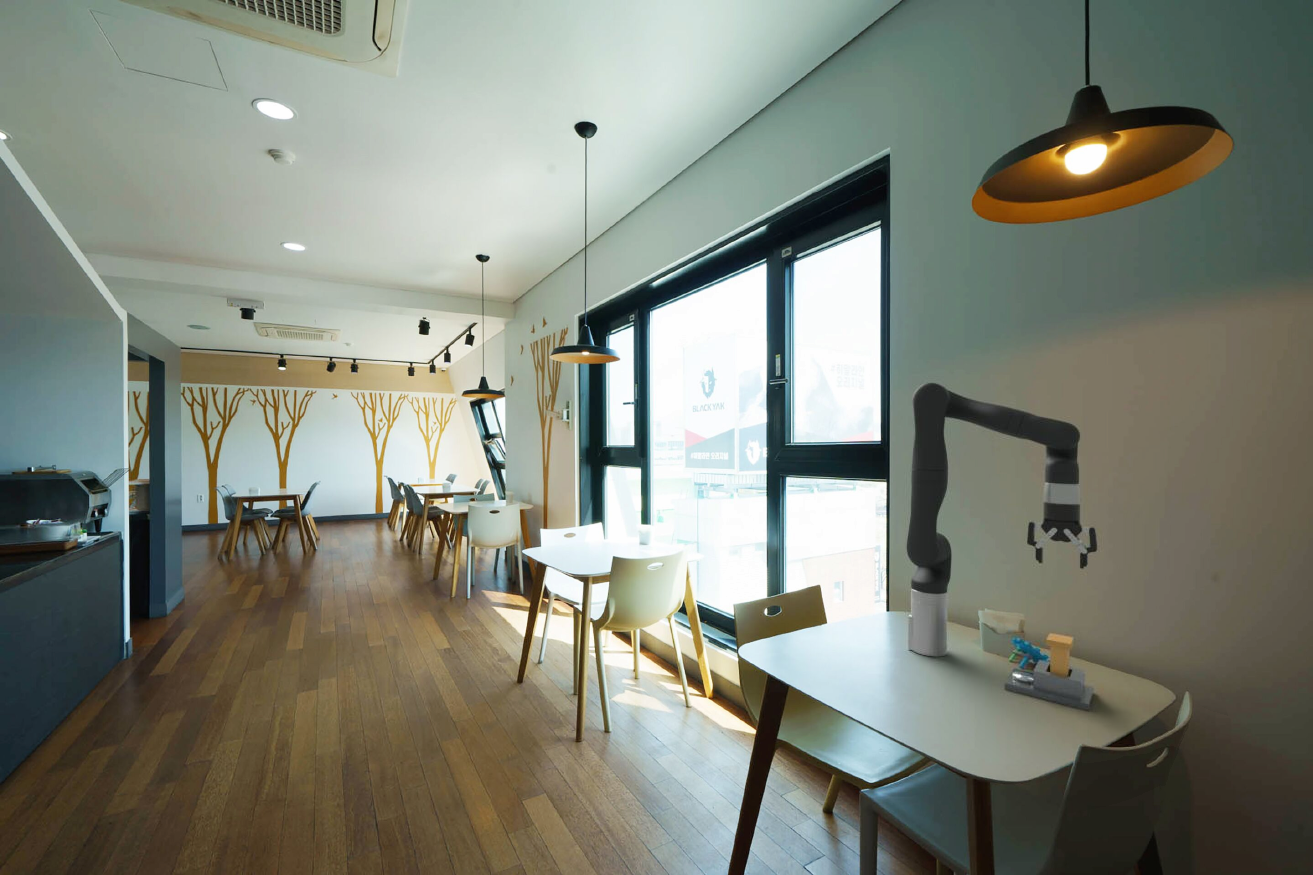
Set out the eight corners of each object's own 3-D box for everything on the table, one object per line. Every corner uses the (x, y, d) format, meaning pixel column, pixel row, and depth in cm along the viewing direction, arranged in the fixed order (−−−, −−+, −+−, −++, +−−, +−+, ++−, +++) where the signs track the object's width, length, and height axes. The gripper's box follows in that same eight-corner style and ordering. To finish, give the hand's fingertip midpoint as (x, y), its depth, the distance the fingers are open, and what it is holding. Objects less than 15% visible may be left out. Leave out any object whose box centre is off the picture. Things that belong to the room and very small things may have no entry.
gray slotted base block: (1004, 689, 135) (1004, 666, 135) (1014, 674, 144) (1014, 652, 144) (1088, 710, 124) (1089, 685, 125) (1093, 693, 133) (1093, 669, 134)
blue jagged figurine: (1063, 668, 144) (1034, 640, 144) (1049, 685, 143) (1021, 657, 143) (1030, 657, 155) (1003, 631, 155) (1017, 674, 154) (991, 647, 154)
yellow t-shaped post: (1046, 687, 133) (1046, 639, 133) (1049, 679, 137) (1050, 632, 137) (1070, 693, 130) (1070, 644, 130) (1073, 685, 134) (1073, 637, 134)
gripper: (1025, 500, 145) (1025, 563, 145) (1096, 504, 135) (1095, 572, 135) (1030, 498, 150) (1030, 559, 150) (1098, 502, 141) (1097, 567, 141)
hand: (1061, 565), depth 143 cm, fingers open, 8 cm apart
